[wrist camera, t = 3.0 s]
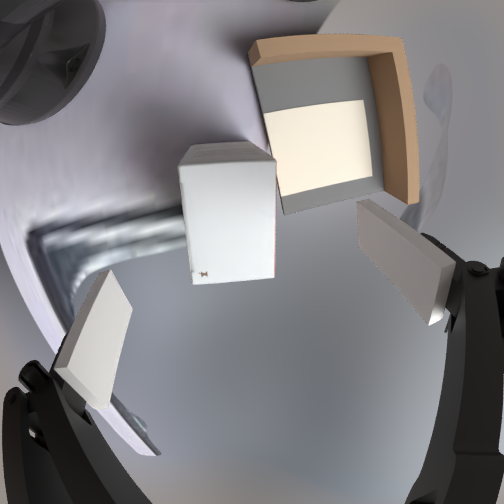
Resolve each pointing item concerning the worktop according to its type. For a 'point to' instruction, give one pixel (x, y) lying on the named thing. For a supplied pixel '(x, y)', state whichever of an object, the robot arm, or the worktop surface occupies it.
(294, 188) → the brown piece
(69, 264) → the worktop surface
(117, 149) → the worktop surface
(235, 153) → the small box
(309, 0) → the mug
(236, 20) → the worktop surface
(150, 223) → the worktop surface
